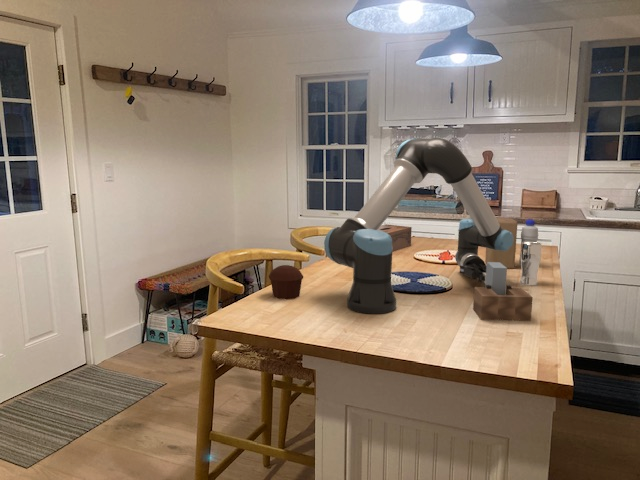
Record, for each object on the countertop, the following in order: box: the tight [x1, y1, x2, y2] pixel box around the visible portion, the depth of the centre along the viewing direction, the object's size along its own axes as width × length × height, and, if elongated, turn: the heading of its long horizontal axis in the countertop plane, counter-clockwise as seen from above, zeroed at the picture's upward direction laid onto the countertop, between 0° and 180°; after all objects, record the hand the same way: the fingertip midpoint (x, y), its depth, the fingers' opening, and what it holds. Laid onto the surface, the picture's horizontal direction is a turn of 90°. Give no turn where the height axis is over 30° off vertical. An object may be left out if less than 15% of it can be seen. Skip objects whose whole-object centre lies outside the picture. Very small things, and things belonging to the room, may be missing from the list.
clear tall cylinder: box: [519, 242, 542, 287], centre depth 189 cm, size 7×7×15 cm
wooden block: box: [484, 217, 518, 270], centre depth 216 cm, size 10×10×20 cm
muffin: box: [268, 264, 304, 300], centre depth 172 cm, size 12×11×10 cm
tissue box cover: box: [378, 224, 413, 253], centre depth 255 cm, size 26×14×10 cm, turn 143°
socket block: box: [472, 284, 533, 322], centre depth 153 cm, size 14×10×8 cm
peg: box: [484, 262, 508, 295], centre depth 161 cm, size 4×8×13 cm, turn 176°
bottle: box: [519, 219, 539, 267], centre depth 214 cm, size 7×7×20 cm
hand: (489, 281), depth 168 cm, fingers closed
